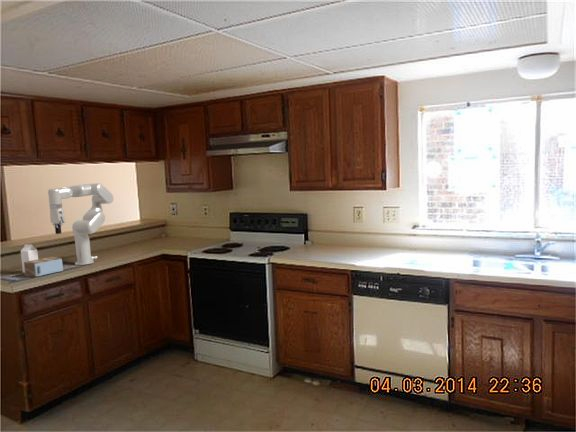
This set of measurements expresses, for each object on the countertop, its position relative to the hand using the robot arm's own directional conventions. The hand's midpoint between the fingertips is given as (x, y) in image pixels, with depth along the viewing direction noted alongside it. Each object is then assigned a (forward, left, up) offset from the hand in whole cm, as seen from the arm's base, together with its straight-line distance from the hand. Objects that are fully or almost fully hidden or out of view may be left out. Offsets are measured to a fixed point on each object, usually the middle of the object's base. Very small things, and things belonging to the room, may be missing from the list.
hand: (58, 233), depth 303 cm
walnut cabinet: (+12, -1, -25) cm, 28 cm away
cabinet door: (+12, +6, -25) cm, 28 cm away
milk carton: (+13, -15, -25) cm, 32 cm away
